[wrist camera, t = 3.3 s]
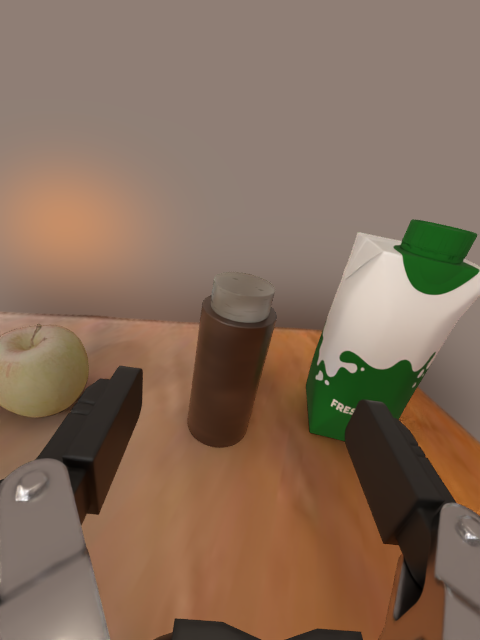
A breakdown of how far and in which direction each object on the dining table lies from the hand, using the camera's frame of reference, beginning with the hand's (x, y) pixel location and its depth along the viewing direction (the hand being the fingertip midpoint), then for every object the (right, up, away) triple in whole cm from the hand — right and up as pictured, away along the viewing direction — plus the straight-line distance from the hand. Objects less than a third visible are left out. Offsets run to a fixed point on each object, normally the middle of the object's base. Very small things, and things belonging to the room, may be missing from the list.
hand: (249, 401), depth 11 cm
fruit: (-18, -4, +15) cm, 24 cm away
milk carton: (+10, -7, +20) cm, 24 cm away
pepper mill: (-2, -6, +16) cm, 18 cm away
